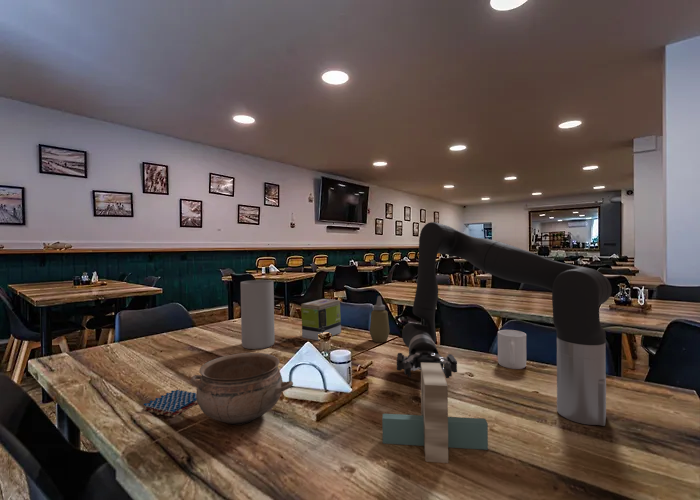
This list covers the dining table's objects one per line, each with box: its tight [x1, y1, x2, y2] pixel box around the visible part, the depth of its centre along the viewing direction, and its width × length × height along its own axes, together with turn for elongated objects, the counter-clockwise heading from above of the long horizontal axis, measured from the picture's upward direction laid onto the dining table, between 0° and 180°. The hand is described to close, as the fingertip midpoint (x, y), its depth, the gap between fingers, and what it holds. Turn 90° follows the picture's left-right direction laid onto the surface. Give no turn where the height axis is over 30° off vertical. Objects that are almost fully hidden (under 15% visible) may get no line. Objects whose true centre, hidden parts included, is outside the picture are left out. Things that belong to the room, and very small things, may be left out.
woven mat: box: [142, 389, 198, 418], centre depth 88 cm, size 10×11×2 cm
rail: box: [381, 413, 489, 451], centre depth 70 cm, size 20×2×5 cm, turn 82°
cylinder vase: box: [240, 279, 276, 350], centre depth 139 cm, size 12×12×25 cm
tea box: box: [300, 298, 342, 341], centre depth 152 cm, size 15×10×15 cm, turn 144°
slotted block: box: [420, 362, 449, 464], centre depth 70 cm, size 12×4×14 cm, turn 172°
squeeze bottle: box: [369, 295, 390, 343], centre depth 142 cm, size 8×8×18 cm
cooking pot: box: [190, 352, 294, 426], centre depth 81 cm, size 25×19×12 cm
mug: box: [497, 329, 527, 370], centre depth 111 cm, size 12×8×10 cm
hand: (428, 373), depth 80 cm, fingers open, 8 cm apart
